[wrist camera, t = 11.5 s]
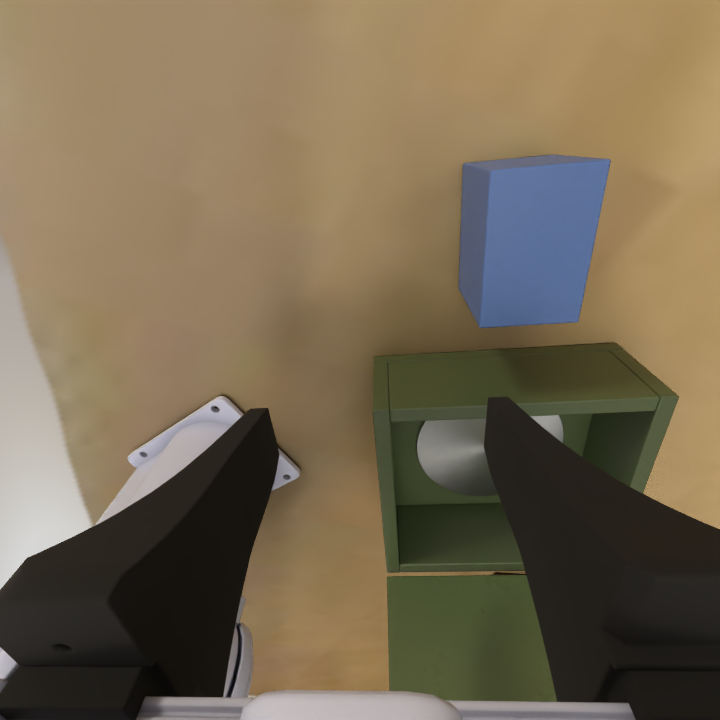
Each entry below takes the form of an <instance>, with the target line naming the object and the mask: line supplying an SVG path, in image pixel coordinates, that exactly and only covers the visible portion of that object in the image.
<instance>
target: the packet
mask: <svg viewBox="0 0 720 720" xmlns="http://www.w3.org/2000/svg"><path fill="white" fill-rule="evenodd" d="M610 162H611V161H610V159H601V158H589V157H576V156H563V155H544V156H533V157H523V158H512V159H502V160H491V161H481V162H470V163H464V164H463V181H462V208H461V236H460V263H459V290H460V292H461V294H462V296H463V298H464V300H465V301H466V303H467V305H468V307H469V309H470V311H471V312H472V314H473V316H474V318H475V320H476V322H477V324H478V325H479V327H480V328H490V327H506V326H522V325H538V324H555V323H571V322H578V320H579V315H580V310H581V305H582V301H583V296H584V291H585V286H586V281H587V276H588V271H589V266H590V261H591V256H592V251H593V246H594V241H595V236H596V231H597V226H598V221H599V216H600V211H601V206H602V201H603V196H604V191H605V186H606V181H607V176H608V171H609V166H610Z"/></svg>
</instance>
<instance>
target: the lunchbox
mask: <svg viewBox="0 0 720 720" xmlns="http://www.w3.org/2000/svg"><path fill="white" fill-rule="evenodd" d="M488 397H509V398H510V399H511V400H512V401H513V402H515V403H516V404H517V405H518V406H519V407H520V408H521V409H522V410H524V411H525V412H526V413H527V414H528V415H529V416H550V415H559V416H560V419H561V421H562V425H563V430H564V438H563V444H565V445H566V446H567V447H569V448H570V449H571V450H573V451H574V452H576V453H577V454H578V455H580V456H581V457H582V458H584V459H585V460H587V461H588V462H590V463H591V464H593V465H594V466H596V467H598V468H599V469H601V470H602V471H604V472H606V473H607V474H609V475H610V476H612V477H614V478H615V479H617V480H619V481H620V482H622V483H624V484H626V485H627V486H629V487H631V488H633V489H635V490H637V491H639V492H640V493H642V494H643V491H644V489H645V486H646V483H647V481H648V478H649V476H650V473H651V470H652V468H653V465H654V462H655V460H656V457H657V454H658V452H659V449H660V446H661V444H662V441H663V438H664V436H665V433H666V430H667V428H668V425H669V422H670V420H671V417H672V414H673V412H674V409H675V406H676V404H677V401H678V398H679V396H678V395H677V394H676V393H675V392H673V391H672V390H671V389H670V388H669V387H667V386H666V385H665V384H664V383H663V382H662V381H660V380H659V379H658V378H657V377H656V376H654V375H653V374H652V373H651V372H650V371H649V370H647V369H646V368H645V367H644V366H643V365H641V364H640V363H639V362H638V361H637V360H636V359H634V358H633V357H632V356H631V355H630V354H629V353H627V352H626V351H625V350H623V348H621V347H620V346H619V345H618V344H617V343H604V344H586V345H569V346H551V347H534V348H516V349H499V350H481V351H464V352H446V353H429V354H411V355H394V356H376V357H374V369H373V421H374V433H375V444H376V455H377V466H378V477H379V488H380V499H381V511H382V522H383V533H384V544H385V555H386V566H387V572H388V573H393V572H459V571H525V569H524V565H523V561H522V558H521V554H520V551H519V548H518V545H517V542H516V539H515V537H514V534H513V531H512V529H511V526H510V524H509V521H508V519H507V516H506V513H505V511H504V508H503V506H502V503H501V501H500V498H499V496H498V495H493V496H470V495H464V494H459V493H456V492H453V491H450V490H448V489H445V488H443V487H442V486H440V485H438V484H437V483H435V482H434V481H433V480H432V479H431V478H430V477H429V476H428V475H427V474H426V473H425V471H424V470H423V469H422V467H421V465H420V463H419V460H418V456H417V449H416V442H417V436H418V432H419V429H420V427H421V424H422V423H423V421H435V420H458V419H481V418H486V415H487V403H488Z"/></svg>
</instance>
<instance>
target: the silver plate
mask: <svg viewBox="0 0 720 720" xmlns="http://www.w3.org/2000/svg"><path fill="white" fill-rule="evenodd" d="M530 417H532V418H533V419H534V420H535V421H536V422H537V423H538V424H540V425H541V426H542V427H543V428H544V429H546V430H547V431H548V432H549V433H551V434H552V435H553V436H554V437H556V438H557V439H558V440H559V441H561V442H562V443H563V438H564V430H563V425H562V421H561V419H560V416H559V415H550V416H530ZM485 426H486V418H481V419H458V420H435V421H423V423H422V424H421V427H420V429H419V432H418V436H417V442H416V449H417V456H418V460H419V463H420V465H421V467H422V469H423V470H424V471H425V473H426V474H427V475H428V476H429V477H430V478H431V479H432V480H433V481H434V482H435V483H437V484H438V485H440V486H442V487H443V488H445V489H448V490H450V491H453V492H456V493H459V494H464V495H470V496H493V495H498V493H497V490H496V488H495V485H494V482H493V480H492V477H491V474H490V470H489V466H488V463H487V458H486V454H485V450H484V438H485Z"/></svg>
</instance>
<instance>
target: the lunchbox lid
mask: <svg viewBox="0 0 720 720" xmlns="http://www.w3.org/2000/svg"><path fill="white" fill-rule="evenodd" d="M387 601H388V645H389V690H390V691H409V692H416V693H424V694H431V695H435V696H437V697H439V698H441V699H443V700H451V701H527V702H557V698H556V694H555V689H554V685H553V680H552V676H551V672H550V667H549V663H548V658H547V654H546V650H545V646H544V642H543V638H542V634H541V629H540V625H539V621H538V617H537V613H536V610H535V606H534V602H533V598H532V594H531V590H530V587H529V583H528V579H527V576H526V575H476V576H393V577H387Z"/></svg>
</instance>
